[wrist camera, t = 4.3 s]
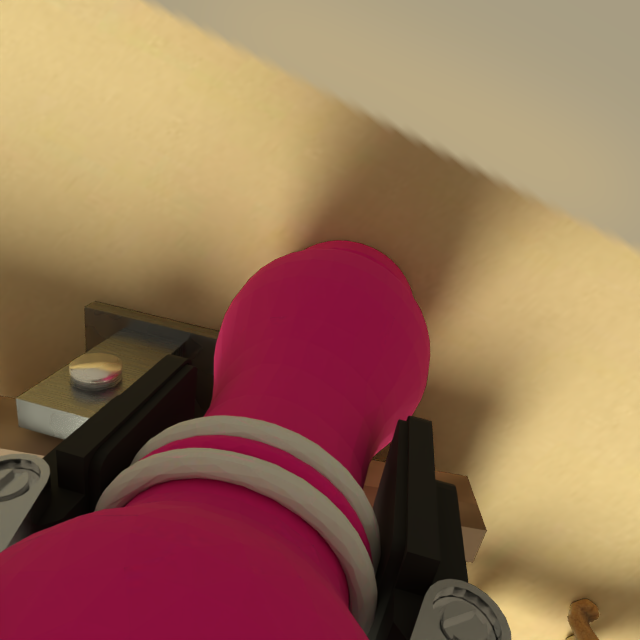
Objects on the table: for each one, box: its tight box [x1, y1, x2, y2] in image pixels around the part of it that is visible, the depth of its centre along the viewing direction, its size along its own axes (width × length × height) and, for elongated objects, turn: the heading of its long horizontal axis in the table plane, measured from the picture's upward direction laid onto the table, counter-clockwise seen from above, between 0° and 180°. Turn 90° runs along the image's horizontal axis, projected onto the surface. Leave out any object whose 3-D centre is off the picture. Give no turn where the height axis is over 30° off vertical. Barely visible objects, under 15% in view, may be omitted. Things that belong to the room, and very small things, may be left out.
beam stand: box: [16, 301, 220, 440], centre depth 22 cm, size 7×17×7 cm, turn 170°
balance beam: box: [0, 396, 487, 563], centre depth 19 cm, size 27×13×3 cm, turn 80°
